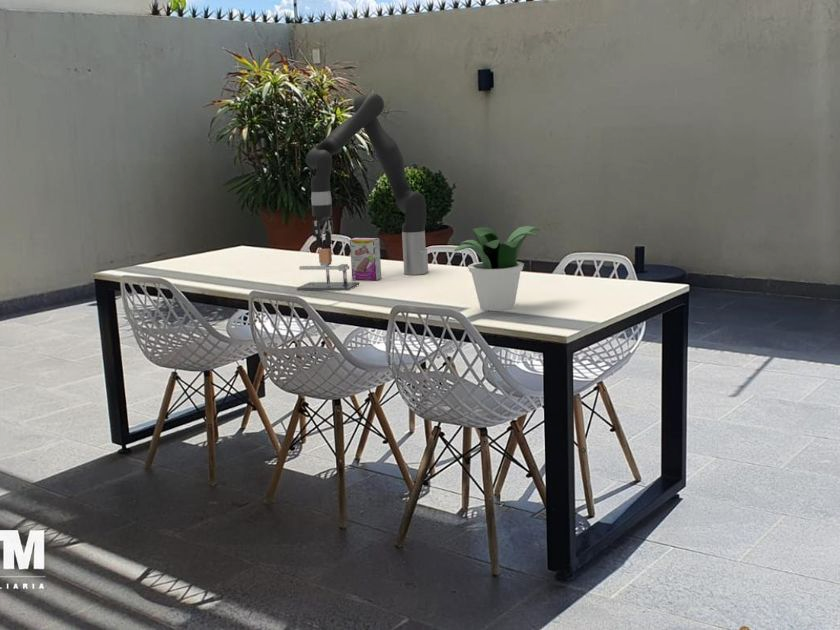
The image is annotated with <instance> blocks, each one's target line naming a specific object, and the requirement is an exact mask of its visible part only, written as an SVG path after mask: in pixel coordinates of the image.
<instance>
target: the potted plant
mask: <svg viewBox="0 0 840 630" xmlns="http://www.w3.org/2000/svg"><path fill="white" fill-rule="evenodd" d="M471 231H472V234H474V236H475V238H476V240H477V241H476V240H474V239H468V240H465V241H462V242H460V243H459V246H456V248H454V250H453V251H454V252H457V251H460V250H461V251H462V250H465V249H471V250H472V251H474V252H475V253H476V254H477V255H478V257H479V258H480V259H481V262H479V261H478V262H474V263H471V264H469V265H467V269H468V271H469V273H471V275H472V280H473V284H474V288H475V292H476V296H477V300H478V304H479V309H481V310H484V311H488V310H489V312H490V311H491V312H493V311H494V312H496V311H507V310H512V309H514V308H515V305H516V300H517V299H516V298H517V293H518V288H519V281H520V275H521V271H523V270H524V265H525V263H523V262H521V261H518V255H519V252H520V251H519V250H520V248H521V247H522V244H523V242H524V240H525V239H526V238H527V237H528V236H533V237H538V235H537V234H536V233H533V232H532V231H536V232H541V229H540V228H539V227H536V226H530V225H528V226H527V225H525V226H520V227H518V228H517V229H516V230H515V229H514V231H513V232H512V233H511V234H510V236H509V237H507V240H506V241H503V242H501V239H499V237H498V235H497V233H496V232H495V230H494V229H493V228H490V227H475V228H472V230H471Z"/></svg>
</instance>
